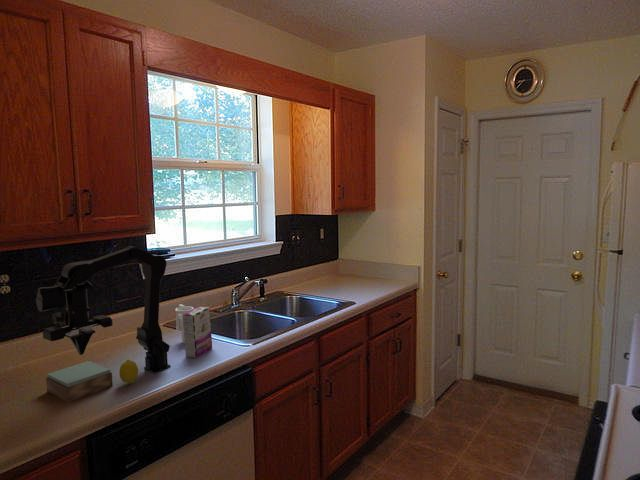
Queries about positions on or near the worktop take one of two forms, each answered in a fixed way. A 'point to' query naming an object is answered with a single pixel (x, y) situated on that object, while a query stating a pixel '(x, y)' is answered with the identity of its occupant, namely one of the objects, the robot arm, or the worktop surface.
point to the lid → (78, 373)
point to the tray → (79, 387)
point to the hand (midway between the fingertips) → (81, 354)
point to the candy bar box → (197, 332)
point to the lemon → (128, 371)
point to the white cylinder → (181, 318)
